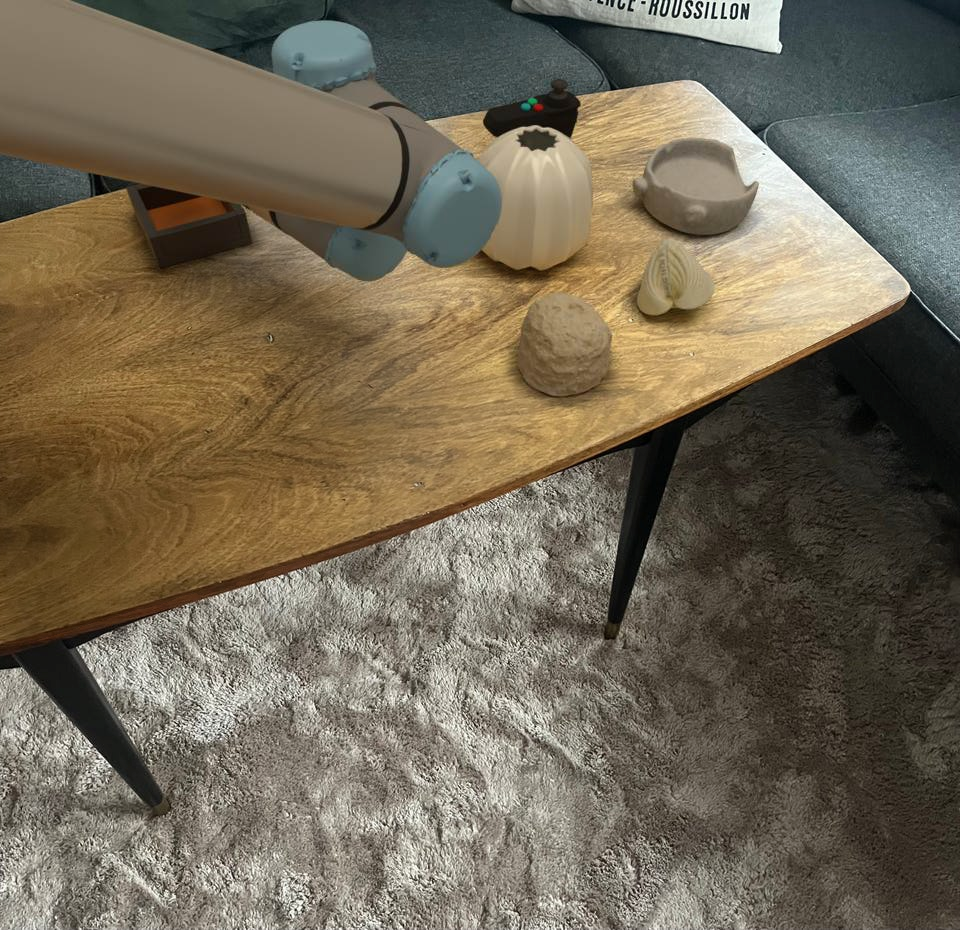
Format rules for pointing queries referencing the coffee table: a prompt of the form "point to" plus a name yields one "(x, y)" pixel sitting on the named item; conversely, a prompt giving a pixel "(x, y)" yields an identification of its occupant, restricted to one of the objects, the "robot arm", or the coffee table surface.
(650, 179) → the dish
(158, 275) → the coffee table surface
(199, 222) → the square wooden tray
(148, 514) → the coffee table surface
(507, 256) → the vase
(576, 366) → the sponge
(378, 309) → the coffee table surface
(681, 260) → the seashell
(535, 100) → the controller
